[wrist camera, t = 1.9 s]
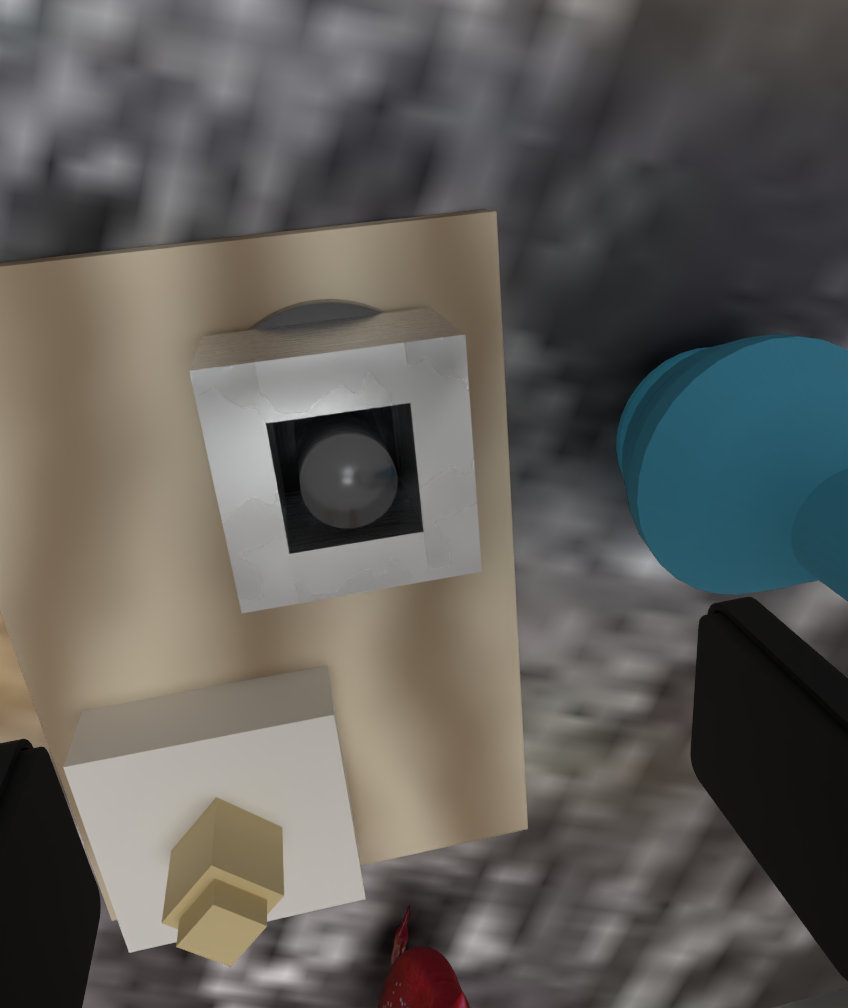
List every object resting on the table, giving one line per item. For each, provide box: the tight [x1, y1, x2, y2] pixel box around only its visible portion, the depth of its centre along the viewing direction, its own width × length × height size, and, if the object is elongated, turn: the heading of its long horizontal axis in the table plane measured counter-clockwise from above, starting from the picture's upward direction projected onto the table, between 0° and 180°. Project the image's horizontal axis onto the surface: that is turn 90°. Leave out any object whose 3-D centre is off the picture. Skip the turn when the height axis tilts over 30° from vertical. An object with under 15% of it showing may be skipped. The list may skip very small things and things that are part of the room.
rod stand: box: [248, 299, 399, 529], centre depth 24 cm, size 8×8×6 cm
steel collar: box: [189, 307, 482, 613], centre depth 23 cm, size 7×7×4 cm
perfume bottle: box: [616, 334, 848, 601], centre depth 24 cm, size 9×9×15 cm
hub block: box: [63, 665, 366, 967], centre depth 28 cm, size 9×9×7 cm
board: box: [0, 209, 528, 921], centre depth 29 cm, size 18×26×2 cm
